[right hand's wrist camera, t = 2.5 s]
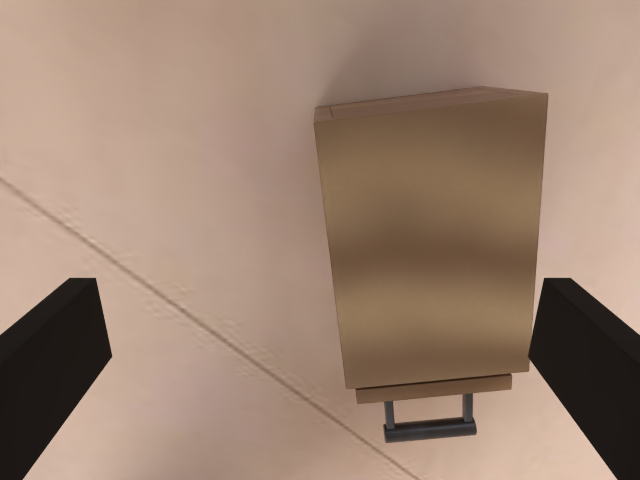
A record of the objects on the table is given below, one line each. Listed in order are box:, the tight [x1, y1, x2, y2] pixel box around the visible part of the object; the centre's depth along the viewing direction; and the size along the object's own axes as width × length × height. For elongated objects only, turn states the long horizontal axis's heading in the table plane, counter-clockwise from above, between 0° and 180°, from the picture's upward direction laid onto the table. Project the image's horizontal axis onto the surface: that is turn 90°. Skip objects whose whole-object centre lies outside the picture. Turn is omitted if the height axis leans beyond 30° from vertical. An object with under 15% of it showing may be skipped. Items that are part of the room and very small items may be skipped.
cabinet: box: [314, 86, 548, 389], centre depth 29 cm, size 17×12×9 cm
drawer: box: [356, 373, 512, 443], centre depth 31 cm, size 21×10×7 cm, turn 7°
